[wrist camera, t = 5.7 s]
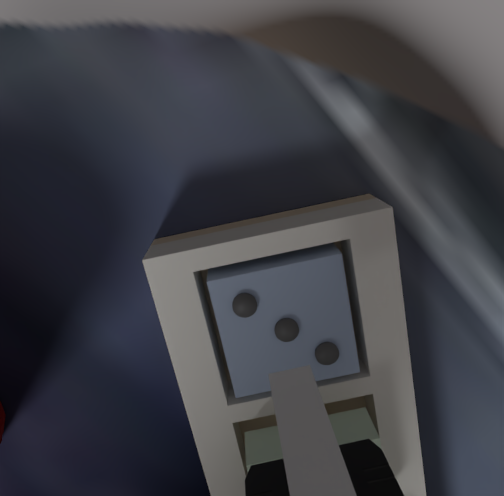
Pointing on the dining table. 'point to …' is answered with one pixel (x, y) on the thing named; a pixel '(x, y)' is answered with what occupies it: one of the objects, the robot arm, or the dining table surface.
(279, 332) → the tile three
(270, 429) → the tile two
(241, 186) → the dining table surface
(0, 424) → the plastic cup
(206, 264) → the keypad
